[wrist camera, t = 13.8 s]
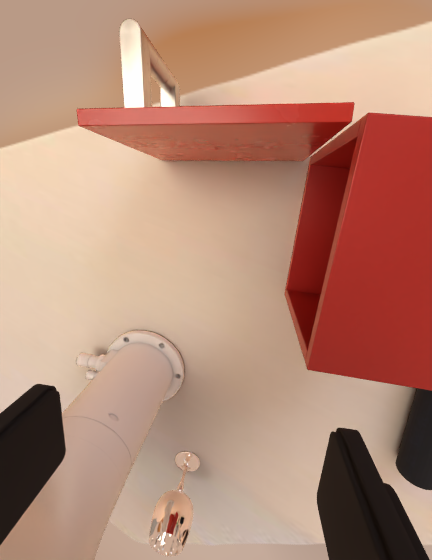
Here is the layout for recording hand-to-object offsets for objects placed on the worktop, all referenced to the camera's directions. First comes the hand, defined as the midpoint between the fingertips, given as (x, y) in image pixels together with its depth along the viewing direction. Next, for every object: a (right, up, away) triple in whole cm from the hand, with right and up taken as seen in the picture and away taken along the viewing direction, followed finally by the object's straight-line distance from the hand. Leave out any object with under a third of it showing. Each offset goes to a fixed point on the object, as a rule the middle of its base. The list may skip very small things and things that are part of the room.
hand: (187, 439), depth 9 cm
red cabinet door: (+3, +23, +22) cm, 32 cm away
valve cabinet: (+17, +11, +24) cm, 31 cm away
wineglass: (-4, -26, +38) cm, 47 cm away
